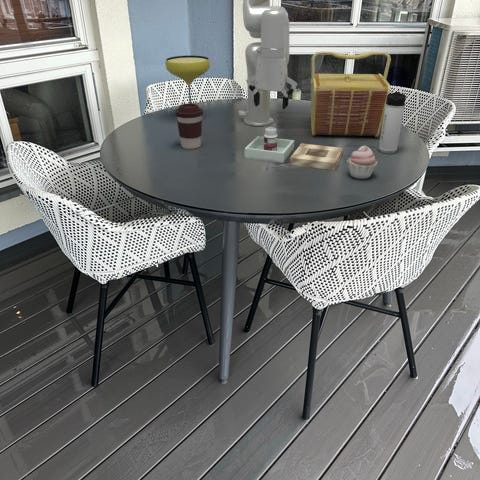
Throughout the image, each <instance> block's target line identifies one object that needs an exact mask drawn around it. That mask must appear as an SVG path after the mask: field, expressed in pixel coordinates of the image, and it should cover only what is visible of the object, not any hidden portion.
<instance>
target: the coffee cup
mask: <svg viewBox="0 0 480 480" xmlns="http://www.w3.org/2000/svg"><path fill="white" fill-rule="evenodd" d="M174 114H175V117H176V118H177V120H176V121H177V128H178V129H177V130H178V136H179V137H180V139H179V140H180V145H181V148H183V149H186V150H196V149H199V148H200V147H201V146H202V145H201V144H202V136H203V134H202V131H203V130H202V129H203V123H202V122H203V121H202V119H201V117H202V116H203V114H204V111H203V109H202V107H200V106H199V105H198V104H196V103H192V102H191V103H183V104H179V106H178V107H177V108H176V109H175V110H174ZM195 148H196V149H195Z"/></svg>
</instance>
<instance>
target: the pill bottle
mask: <svg viewBox="0 0 480 480" xmlns="http://www.w3.org/2000/svg"><path fill="white" fill-rule="evenodd" d="M277 131H278V129H277V128H276V127H273V126H272V127H271V126H270V127H269V126H268V127H266V128H264V135H263V137H264V150H268V151H276V152H277V139H279V138H278V136H279V135H278V132H277Z"/></svg>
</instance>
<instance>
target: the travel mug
mask: <svg viewBox="0 0 480 480" xmlns="http://www.w3.org/2000/svg"><path fill="white" fill-rule="evenodd" d="M406 100H407V95H406V94H404V93H402V92H400V91H394V92H390V94H388V95H387V100H386V106H385V111H384V118H383V122H382V126H381V130H380V138H379V144H378V151H379V152H380V153H383V154H386V155H389V154H390V155H392V154H395V153H396V152H398V151H397V150H398V146H399V140H400V134H401V128H402V123H403V118H404V111H405V106H406Z"/></svg>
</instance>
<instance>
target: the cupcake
mask: <svg viewBox="0 0 480 480" xmlns="http://www.w3.org/2000/svg"><path fill="white" fill-rule="evenodd" d="M346 162H347V165H348V169H349V174H350V177H352V178H354V179H358V180H359V179H360V180H367V179H369V178H370V177H371V175H372V173H373V172H374V171H373V170H374V169H375V167H376V166H377V165H378V161H376V157H375V154H374V152H373V151H372V149H371V148H369V146H367V145H361V146H360V147H359V148H358V149H357V150H353V152H352V153H351V155H350V157H348V159H347V160H346Z"/></svg>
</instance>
